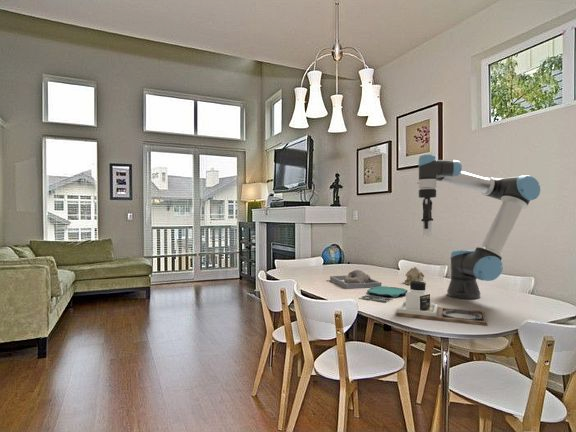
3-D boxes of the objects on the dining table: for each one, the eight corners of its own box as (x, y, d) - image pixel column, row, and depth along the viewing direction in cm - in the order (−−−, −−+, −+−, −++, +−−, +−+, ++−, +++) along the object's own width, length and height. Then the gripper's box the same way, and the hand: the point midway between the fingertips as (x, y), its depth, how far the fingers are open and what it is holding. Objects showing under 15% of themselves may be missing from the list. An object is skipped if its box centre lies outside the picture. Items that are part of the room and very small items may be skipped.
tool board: (484, 313, 157) (484, 307, 157) (487, 325, 140) (487, 318, 140) (402, 305, 170) (402, 300, 170) (396, 315, 154) (396, 309, 154)
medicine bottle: (420, 312, 154) (420, 283, 154) (405, 309, 159) (405, 281, 159) (430, 310, 158) (430, 281, 158) (415, 306, 164) (415, 279, 164)
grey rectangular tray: (361, 278, 241) (361, 274, 241) (381, 286, 214) (381, 282, 214) (330, 280, 236) (330, 276, 236) (346, 288, 209) (346, 284, 209)
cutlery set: (413, 292, 198) (413, 288, 198) (389, 305, 175) (389, 300, 175) (378, 288, 210) (378, 284, 210) (351, 299, 187) (351, 295, 187)
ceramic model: (400, 282, 228) (400, 266, 228) (416, 281, 231) (416, 265, 231) (414, 286, 214) (414, 269, 214) (431, 285, 217) (431, 268, 217)
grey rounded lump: (363, 299, 219) (364, 281, 231) (372, 290, 214) (372, 273, 226) (339, 285, 217) (341, 269, 229) (347, 276, 212) (349, 260, 224)
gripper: (421, 190, 185) (421, 233, 185) (415, 187, 162) (416, 236, 162) (437, 190, 181) (437, 234, 182) (434, 187, 159) (434, 237, 159)
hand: (427, 235), depth 172 cm, fingers open, 13 cm apart
